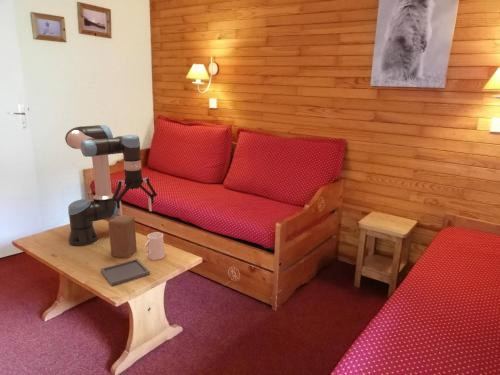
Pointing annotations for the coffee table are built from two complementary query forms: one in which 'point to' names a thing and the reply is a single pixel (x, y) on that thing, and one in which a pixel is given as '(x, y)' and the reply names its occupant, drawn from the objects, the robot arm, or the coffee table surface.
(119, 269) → the tray
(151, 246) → the mug
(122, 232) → the wooden block
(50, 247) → the coffee table surface
